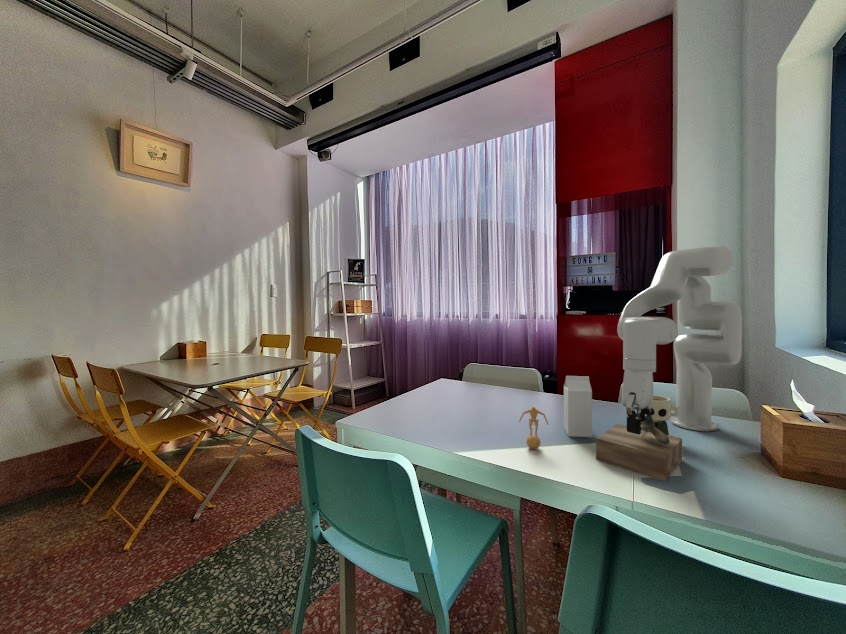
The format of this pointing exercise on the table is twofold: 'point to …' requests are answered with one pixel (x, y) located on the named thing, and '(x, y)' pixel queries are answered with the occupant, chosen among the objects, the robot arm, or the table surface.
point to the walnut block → (639, 452)
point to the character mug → (662, 412)
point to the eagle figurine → (653, 430)
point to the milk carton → (578, 406)
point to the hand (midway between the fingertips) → (639, 428)
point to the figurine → (533, 439)
